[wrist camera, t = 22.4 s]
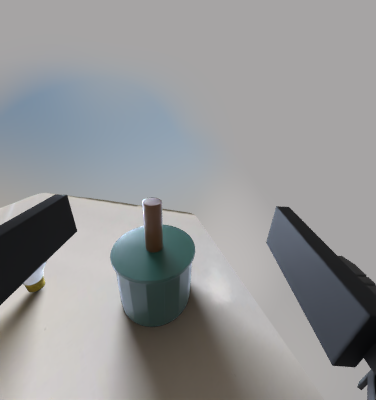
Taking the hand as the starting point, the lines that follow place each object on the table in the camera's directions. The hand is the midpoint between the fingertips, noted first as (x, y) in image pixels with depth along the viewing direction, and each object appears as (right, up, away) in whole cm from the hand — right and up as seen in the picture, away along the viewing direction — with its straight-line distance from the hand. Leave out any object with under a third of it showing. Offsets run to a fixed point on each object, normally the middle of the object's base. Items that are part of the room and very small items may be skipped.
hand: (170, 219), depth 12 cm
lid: (-4, -7, +19) cm, 20 cm away
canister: (-5, -17, +23) cm, 29 cm away
